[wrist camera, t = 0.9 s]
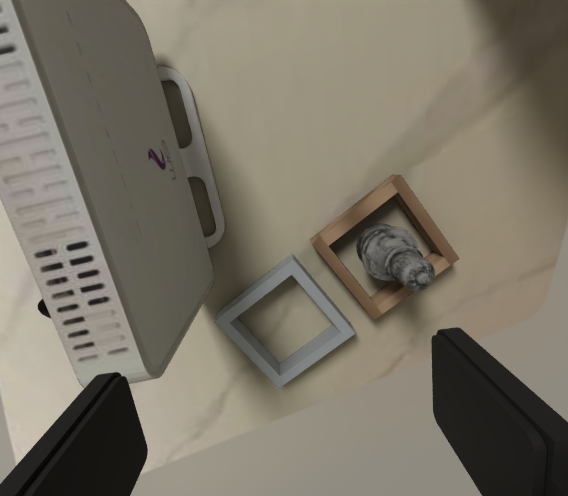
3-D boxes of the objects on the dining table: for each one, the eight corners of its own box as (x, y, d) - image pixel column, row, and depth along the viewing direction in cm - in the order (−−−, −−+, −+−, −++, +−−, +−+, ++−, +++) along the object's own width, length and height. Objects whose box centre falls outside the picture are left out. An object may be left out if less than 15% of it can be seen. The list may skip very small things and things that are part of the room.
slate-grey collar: (292, 253, 36) (293, 259, 34) (350, 323, 38) (355, 333, 36) (218, 311, 38) (214, 321, 35) (278, 375, 40) (278, 388, 38)
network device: (237, 270, 37) (193, 383, 17) (165, 285, 37) (40, 413, 17) (174, 24, 30) (-7, -233, 11) (87, 44, 31) (-238, -171, 11)
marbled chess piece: (345, 236, 36) (378, 268, 24) (392, 211, 35) (449, 232, 24) (366, 279, 37) (407, 328, 26) (412, 256, 37) (475, 296, 25)
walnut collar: (392, 174, 34) (401, 175, 32) (447, 252, 37) (459, 258, 34) (310, 239, 36) (312, 244, 33) (367, 310, 38) (373, 320, 36)
